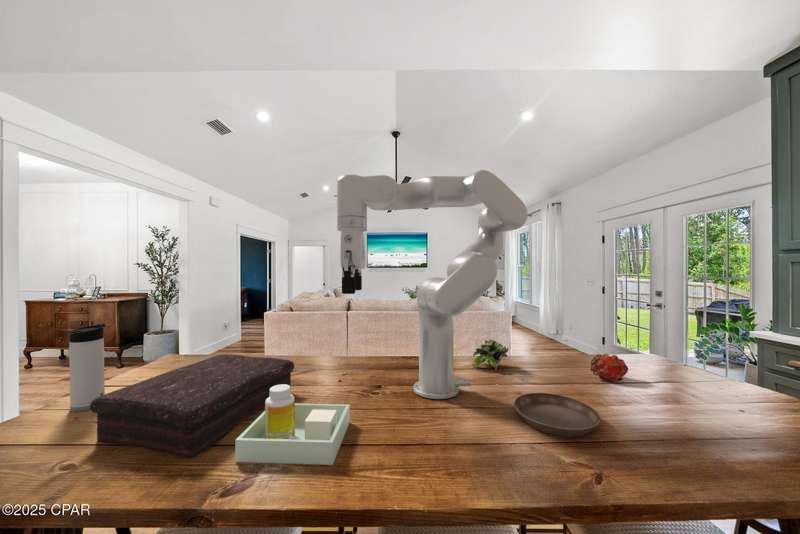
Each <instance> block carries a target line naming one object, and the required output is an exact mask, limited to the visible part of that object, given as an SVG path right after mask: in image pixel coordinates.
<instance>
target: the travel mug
mask: <svg viewBox="0 0 800 534" xmlns="http://www.w3.org/2000/svg"><path fill="white" fill-rule="evenodd" d="M105 327H106V324H104V323H98V324H97V325H96V324H94V325H93V324H92V325H88V326H81V327H79V328H75V329H72V330H70V331H69V335H68V337H69V339H68V340H69V341H68V344H69V345H68V355H69V357H68V358H69V403H70V404H69V405H70V407H69V408H70V411H71V412H75V413H80V412H85V411H86V412H87V411H91V410H90V404H91V401H93V400H94V399H96V398H97V397H99V396H102V395H105V392H106V391H105V388H106V387H105V341H104V339H105V337H104V328H105Z"/></svg>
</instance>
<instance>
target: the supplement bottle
mask: <svg viewBox="0 0 800 534" xmlns="http://www.w3.org/2000/svg"><path fill="white" fill-rule="evenodd" d="M291 392H292V389H291V390H290V386H289V385H286V384H281V385H275V386H273V387H271V388H270V394H269V397H268V398H267V399H266V401H265V408H264V411H265V438H266V439H292V438H293V437H294V434H295V403H296V401H295V400H296V399H295V396H294V394H292V393H291Z"/></svg>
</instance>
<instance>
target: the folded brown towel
mask: <svg viewBox="0 0 800 534" xmlns="http://www.w3.org/2000/svg"><path fill="white" fill-rule="evenodd" d="M294 369H295V363H294V361H291V360H289V359H283V358H275V357H259V356H248V355H243V354H242V355H241V354H224V353H223V354H218V355H214V356H212V357H209V358H206V359H202V360H200V361H198V362H194V363H192V364H189V365H185V366H182V367H178V368H175V369H173V370H169V371H166V372H163V373H162V374H158V375H156V376H152V377H150V378H147V379H145V380H141V381H139V382H136V383H133V384H130V385H128V386H126V387H123V388H119V389H116V390H114V391H111V392H108V393H106V394H105V395H102V396H99V397H97V398H96V399H94V400H93V401H91V404H90V410H89V411H91V413H93V414H96V441H97V443H103V444H110V445H111V444H112V445H123V446H128V447H133V446H135V447H134V448H139V447H140V449H146V450H151V451H156V452H161V453H165V454H168V455H172V456H175V457H178V458H183V459H186V460H187V459H188V460H189V459H193V458H196V457H198V456H199V455H201V454H202V453H204V452H205V451H207V450H208V449H209V447H210V448H211V447H212V446H214V445H216V444H217V443H218V442H220V441H221V440H223V439H224V438H225V437H226V436H227V435H228V434H229V433H231V431H232V430H234V429H235V428H236V427H237V426H238V425H240V424H241V423H243V422H244V421H246V420H247V419H248V418H250V417H252V416H253V415H255V414H256V413H258V412H259V411H261V410H263V409H265V401H266V399H267V398H268V397H269V394H270V388H271V387H273V386H275V385H281V384H286V385H289V386H290V390H291V391H292V389H291V388H292V387H291V385H292V384H291V383H292V381H291V380H292V379H291V378H292V377H291V375H292V374H291V373H292V372H293V371H294Z"/></svg>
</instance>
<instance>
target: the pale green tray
mask: <svg viewBox="0 0 800 534" xmlns="http://www.w3.org/2000/svg"><path fill="white" fill-rule="evenodd" d="M313 409H314V410H337V426H336V428H335V430H334V432H333V434H332V436H331V439H330V440H305V420H306V418H307V417H308V415H309V414H310V413H311V411H312V410H313ZM350 410H351V405H350V404H347V403H346V404H340V403H338V404H335V403H299V402H297V403H296V402H295V434H294V437H293V438H292V439H266V438H265V410H264V411H263V412H262V413H261V414H260V415H259V416H257V418H256V419H255V420H254V421H253V422H251V424H250V425H249V426H248V427H247V428H246V429H244V430H243V432H242V433H241V434H240V435H239V436H238V437H237V438H236V439H235V442H234V443H235V448H234V449H235V453H234V454H235V455H234V456H235V463H253V464H254V463H255V464H257V463H258V464H287V465H288V464H289V465H290V464H293V465H294V464H295V465H326V466H327V465H329V466H333V465H334V463H335V460H336V458H337V456H338V453H339V449H340V448H341V446H342V442H343V440H344V438H345V435H346V433H347V430H348V427H349V425H350V423H351V415H350V414H351V411H350Z"/></svg>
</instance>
